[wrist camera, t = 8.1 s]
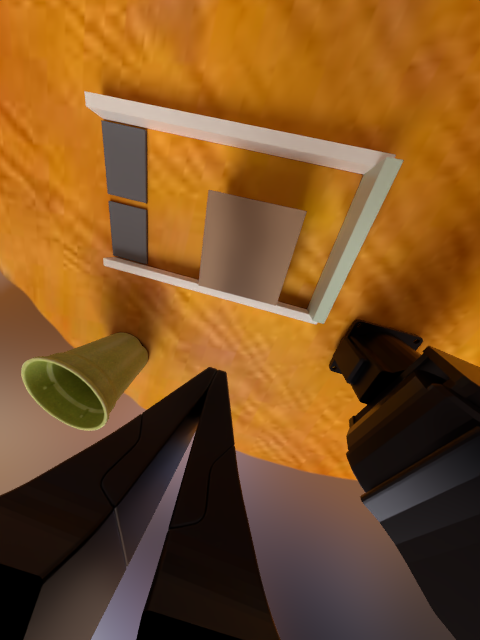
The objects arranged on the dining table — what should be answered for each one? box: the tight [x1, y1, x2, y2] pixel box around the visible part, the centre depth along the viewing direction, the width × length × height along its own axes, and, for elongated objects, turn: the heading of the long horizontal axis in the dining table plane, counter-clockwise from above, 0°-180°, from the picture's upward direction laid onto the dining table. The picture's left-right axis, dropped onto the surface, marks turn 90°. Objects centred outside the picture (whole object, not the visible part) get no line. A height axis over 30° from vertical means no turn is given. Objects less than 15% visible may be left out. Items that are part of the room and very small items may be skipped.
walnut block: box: [198, 190, 307, 306], centre depth 15 cm, size 7×7×4 cm
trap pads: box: [101, 120, 148, 264], centre depth 17 cm, size 4×11×1 cm, turn 167°
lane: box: [84, 91, 404, 324], centre depth 15 cm, size 23×13×3 cm, turn 77°
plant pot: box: [21, 332, 148, 431], centre depth 21 cm, size 9×9×9 cm
